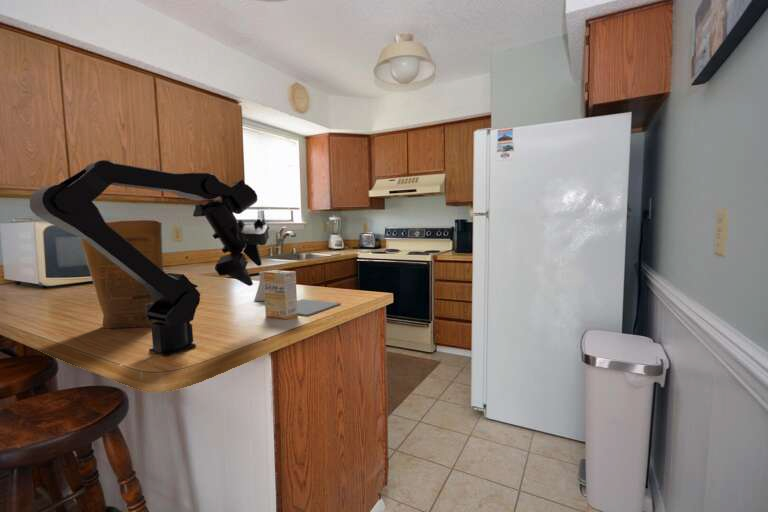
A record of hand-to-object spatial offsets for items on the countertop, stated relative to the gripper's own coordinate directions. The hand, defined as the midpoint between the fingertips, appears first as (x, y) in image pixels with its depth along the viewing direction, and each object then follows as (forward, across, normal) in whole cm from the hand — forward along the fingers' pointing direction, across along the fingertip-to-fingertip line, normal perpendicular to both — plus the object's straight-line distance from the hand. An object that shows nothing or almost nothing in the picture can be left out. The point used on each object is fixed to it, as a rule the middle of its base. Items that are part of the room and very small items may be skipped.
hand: (255, 274), depth 91 cm
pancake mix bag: (+3, -4, +36) cm, 36 cm away
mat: (+21, +9, -4) cm, 23 cm away
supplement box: (+16, 0, 0) cm, 16 cm away
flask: (+23, +22, +14) cm, 35 cm away
